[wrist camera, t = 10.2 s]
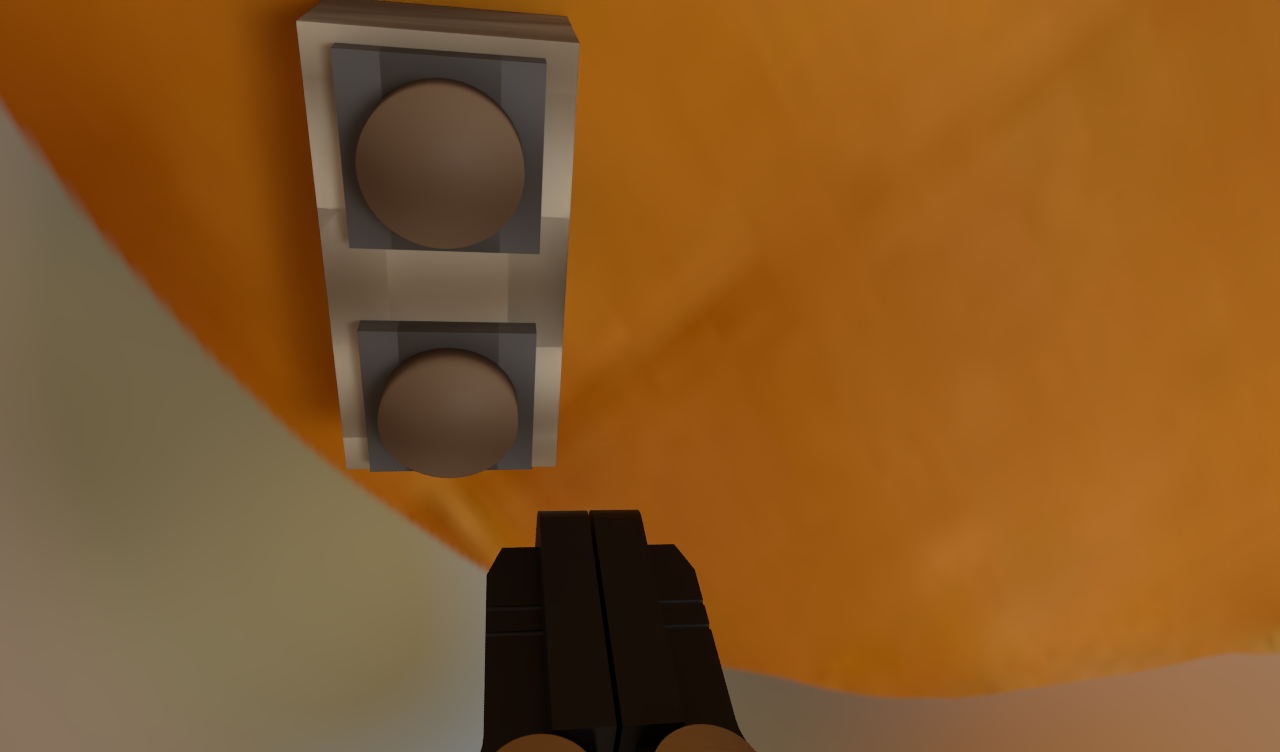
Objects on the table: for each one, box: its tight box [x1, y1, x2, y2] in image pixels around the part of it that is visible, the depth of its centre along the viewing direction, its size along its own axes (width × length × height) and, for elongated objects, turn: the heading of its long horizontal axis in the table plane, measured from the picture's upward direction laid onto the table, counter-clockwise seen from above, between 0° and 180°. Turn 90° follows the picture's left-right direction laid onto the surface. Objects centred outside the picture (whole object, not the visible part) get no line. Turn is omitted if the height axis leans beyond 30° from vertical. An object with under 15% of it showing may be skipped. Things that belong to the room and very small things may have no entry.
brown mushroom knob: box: [377, 348, 518, 478], centre depth 31 cm, size 5×5×6 cm
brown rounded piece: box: [356, 78, 525, 249], centre depth 26 cm, size 5×5×6 cm
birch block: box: [296, 0, 580, 472], centre depth 29 cm, size 16×8×6 cm, turn 174°
